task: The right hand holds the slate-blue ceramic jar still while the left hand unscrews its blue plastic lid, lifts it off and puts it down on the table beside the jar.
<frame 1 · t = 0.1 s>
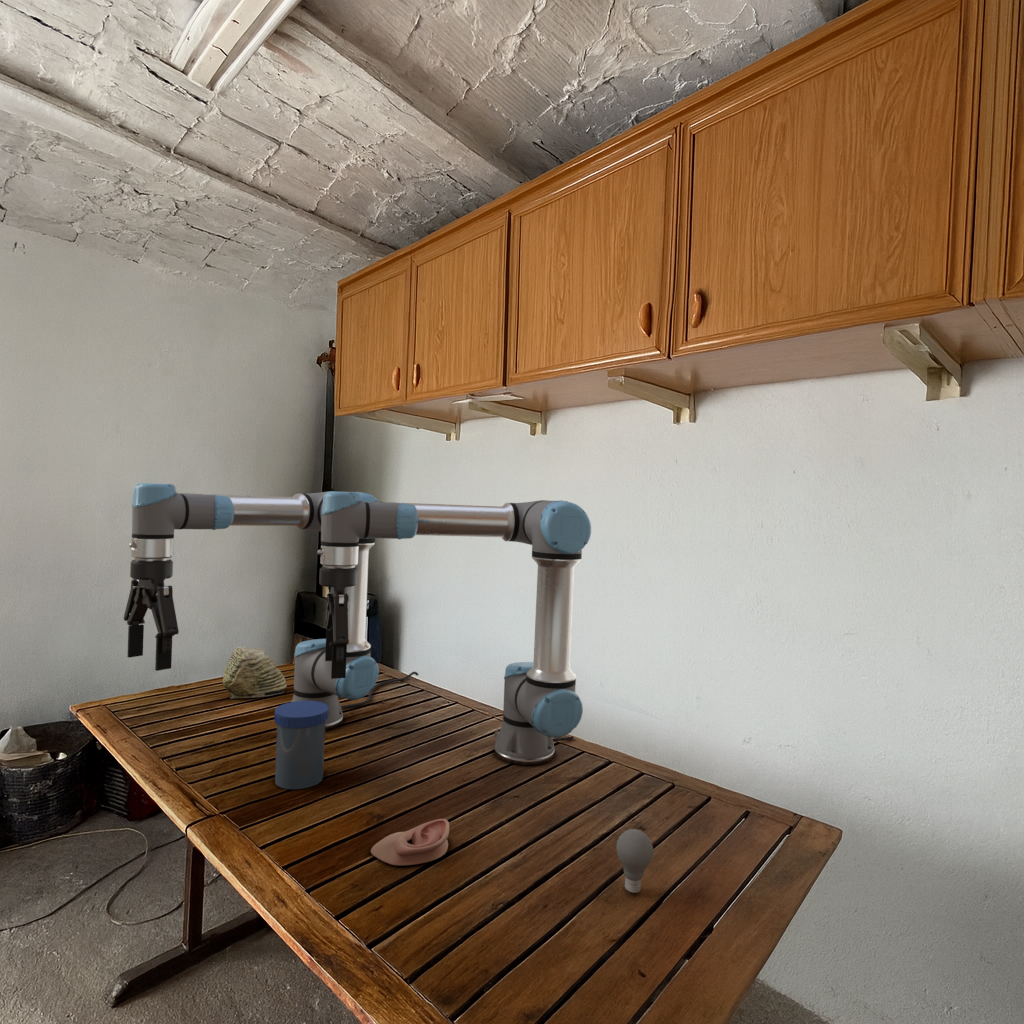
left hand: (148, 662, 129), 28 cm above the table, tool pointing down, fingers open, 13 cm apart
right hand: (334, 669, 131), 28 cm above the table, tool pointing down, fingers open, 13 cm apart
lid: (301, 710, 141), point 15 cm above the table, screwed on, not yet turned
light bulb: (632, 891, 106), on the table
fossil: (254, 694, 198), on the table
jar: (299, 778, 142), on the table
anatomical model: (410, 850, 115), on the table
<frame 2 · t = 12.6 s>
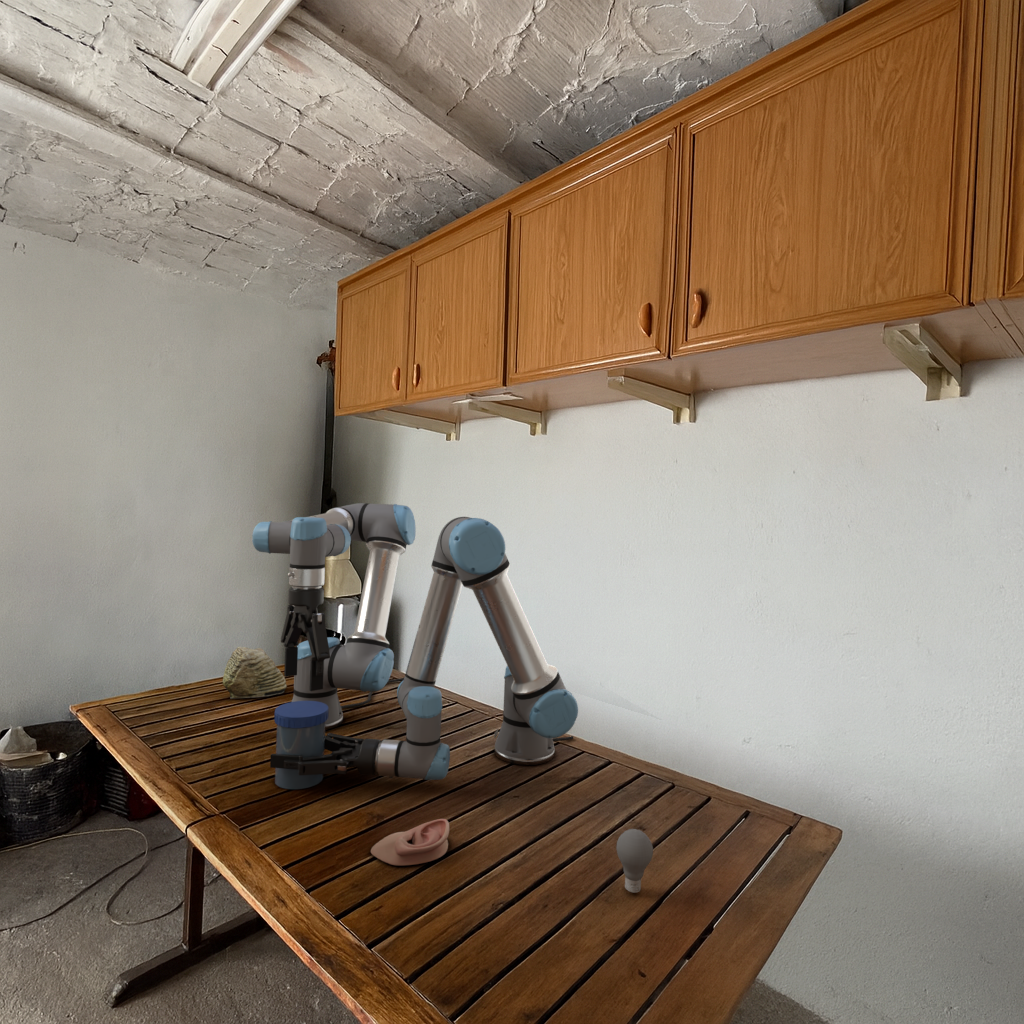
left hand: (302, 682, 141), 22 cm above the table, tool pointing down, fingers open, 12 cm apart
right hand: (282, 750, 142), 6 cm above the table, tool horizontal, fingers closed on jar, 10 cm apart
jar: (299, 778, 142), on the table, touching right hand
everything else where it was.
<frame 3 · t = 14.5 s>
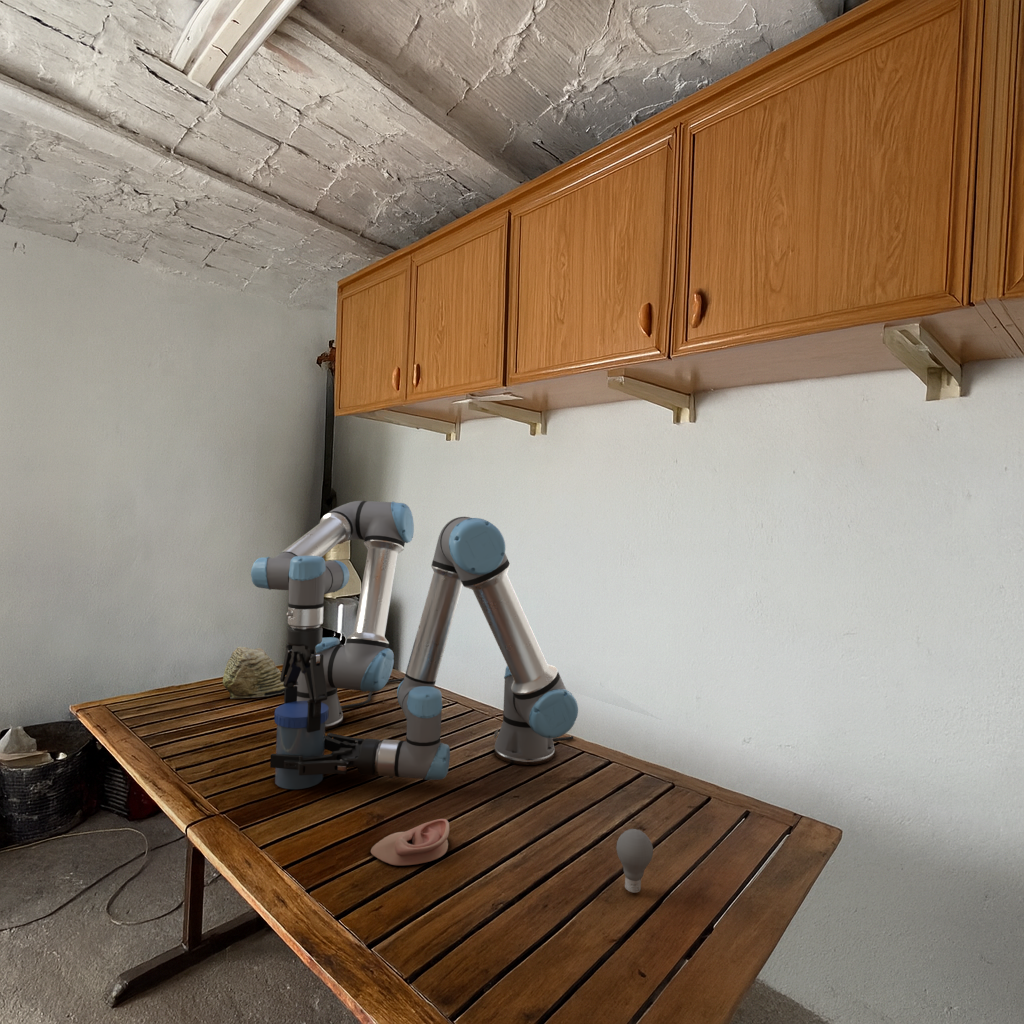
left hand: (301, 722, 141), 13 cm above the table, tool pointing down, fingers closed on lid, 11 cm apart
right hand: (282, 750, 142), 6 cm above the table, tool horizontal, fingers closed on jar, 10 cm apart
lid: (301, 710, 141), point 15 cm above the table, screwed on, not yet turned, touching left hand
jar: (299, 778, 142), on the table, touching right hand
everything else where it was.
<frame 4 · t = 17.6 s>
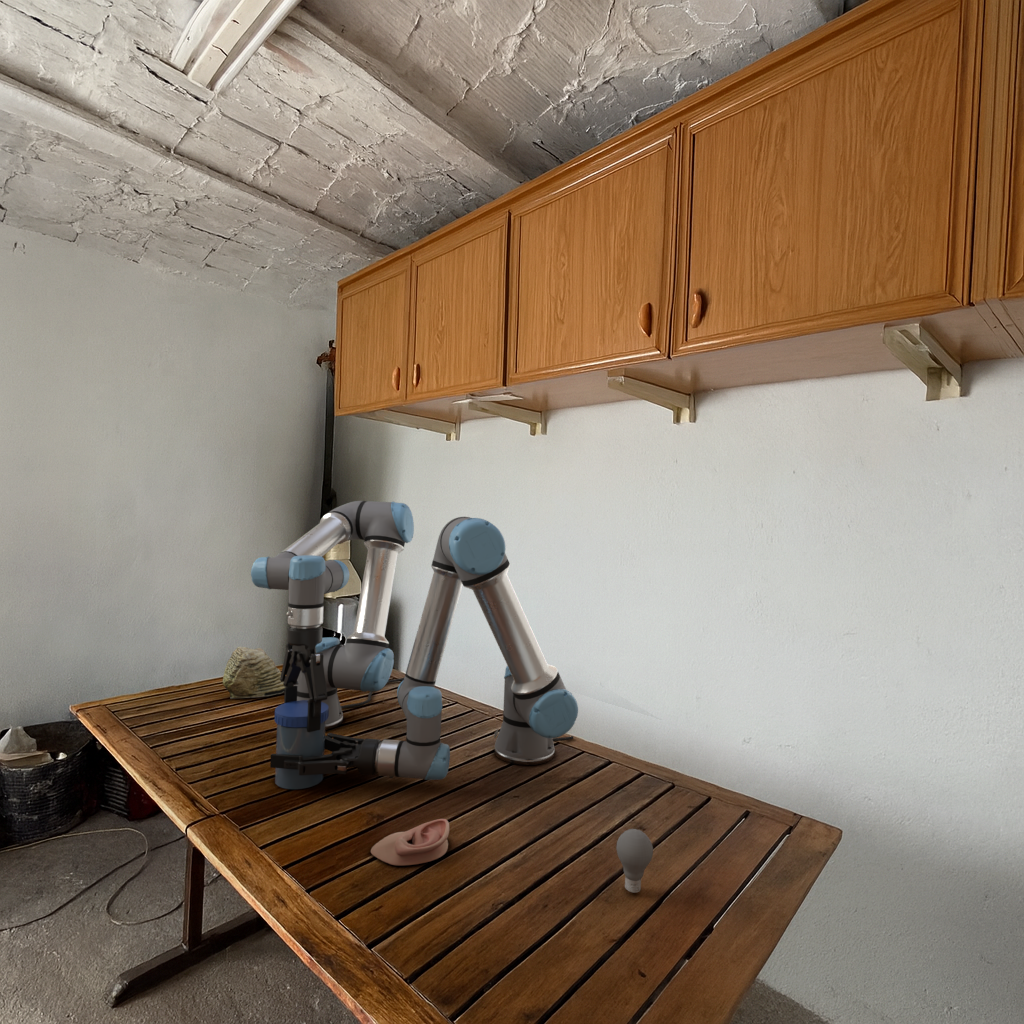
left hand: (301, 722, 141), 13 cm above the table, tool pointing down, fingers closed on lid, 11 cm apart
right hand: (282, 750, 142), 6 cm above the table, tool horizontal, fingers closed on jar, 10 cm apart
lid: (302, 709, 141), point 16 cm above the table, turned 91° so far, risen 0.1 cm, still on its thread, touching left hand
jar: (299, 778, 142), on the table, touching right hand
everything else where it was.
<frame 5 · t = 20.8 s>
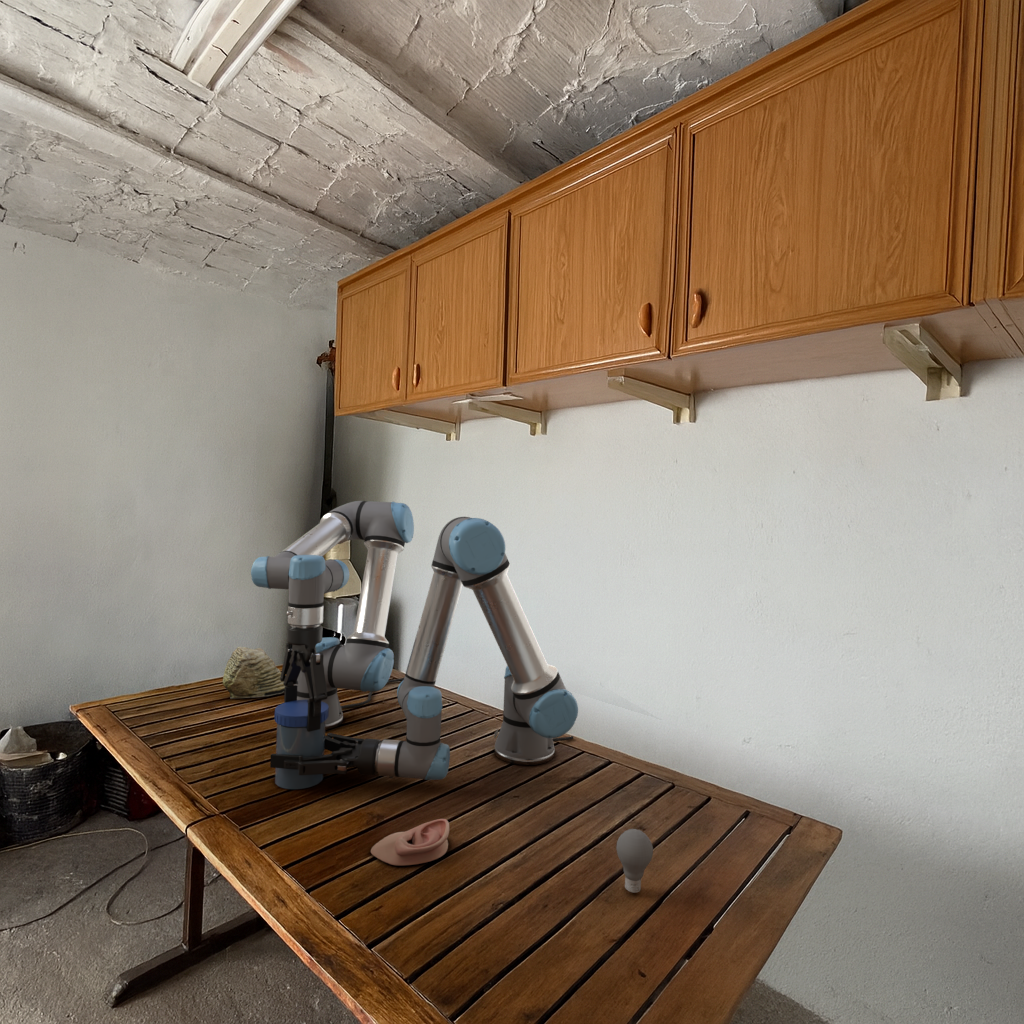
left hand: (301, 722, 141), 13 cm above the table, tool pointing down, fingers closed on lid, 11 cm apart
right hand: (282, 750, 142), 6 cm above the table, tool horizontal, fingers closed on jar, 10 cm apart
lid: (302, 709, 141), point 16 cm above the table, turned 182° so far, risen 0.2 cm, still on its thread, touching left hand
jar: (299, 778, 142), on the table, touching right hand
everything else where it was.
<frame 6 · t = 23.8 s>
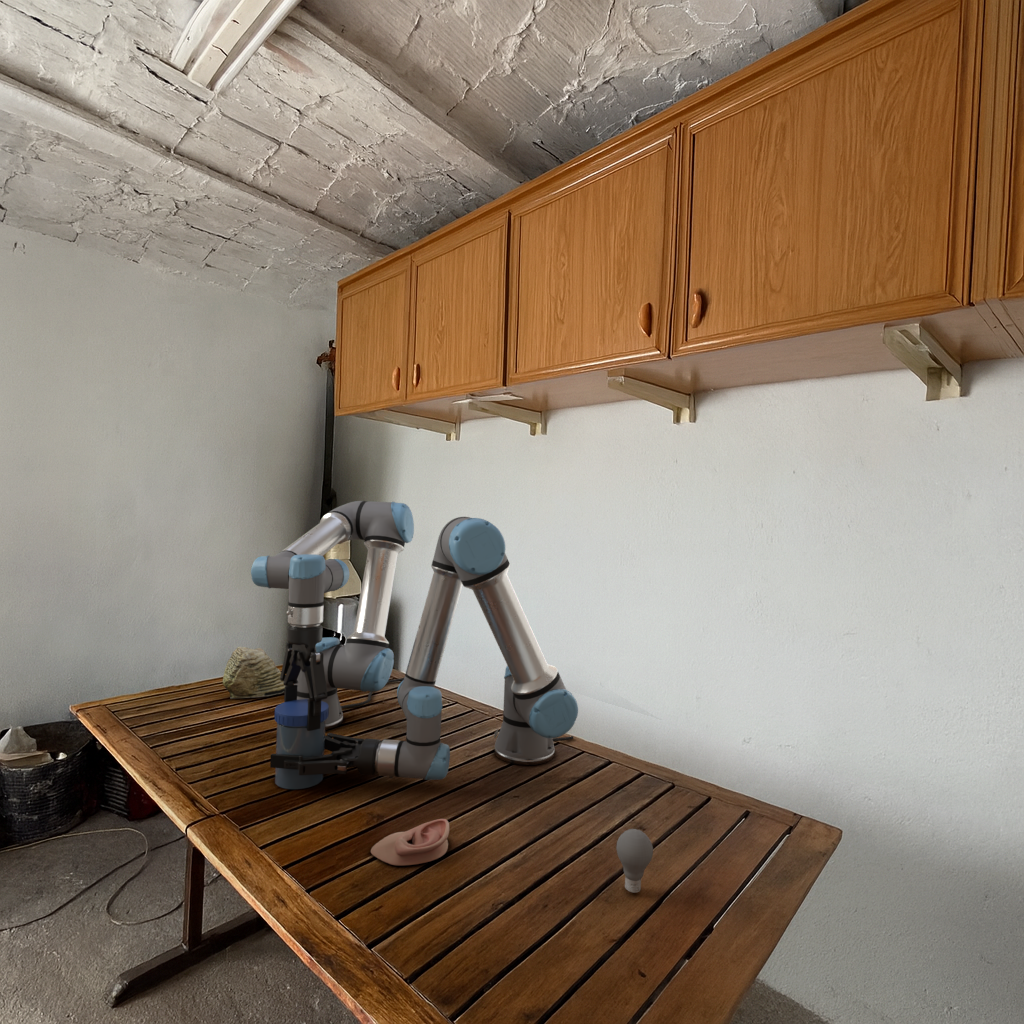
left hand: (301, 721, 141), 13 cm above the table, tool pointing down, fingers closed on lid, 11 cm apart
right hand: (282, 750, 142), 6 cm above the table, tool horizontal, fingers closed on jar, 10 cm apart
lid: (302, 708, 141), point 16 cm above the table, turned 273° so far, risen 0.4 cm, still on its thread, touching left hand
jar: (299, 778, 142), on the table, touching right hand
everything else where it was.
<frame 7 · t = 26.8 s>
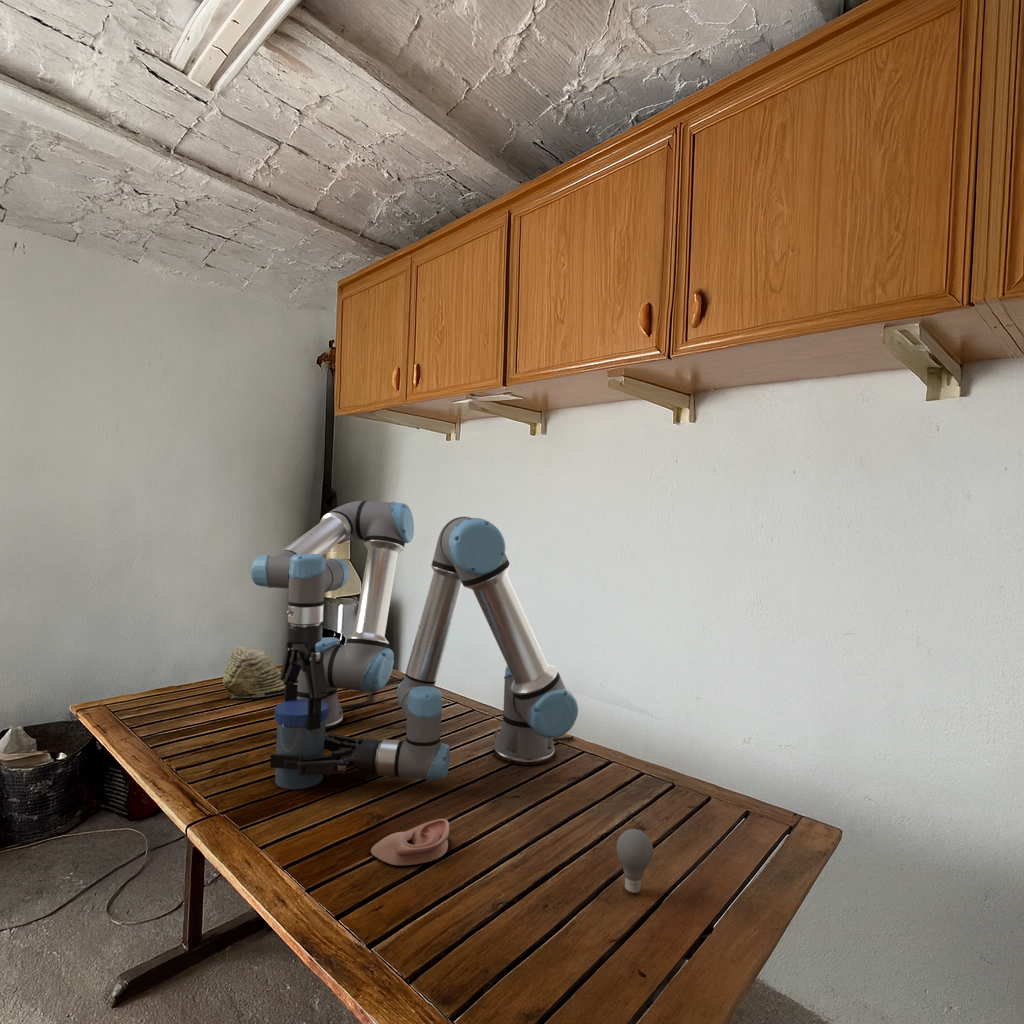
left hand: (301, 721, 141), 13 cm above the table, tool pointing down, fingers closed on lid, 11 cm apart
right hand: (282, 750, 142), 6 cm above the table, tool horizontal, fingers closed on jar, 10 cm apart
lid: (302, 708, 141), point 16 cm above the table, turned 364° so far, risen 0.5 cm, still on its thread, touching left hand
jar: (299, 778, 142), on the table, touching right hand
everything else where it was.
when the left hand's fingers open (0 cm above the table, at t = 33.8 s): lid drops 1 cm, point 2 cm above the table.
when the right hand's fingers open (6 cm above the table, at t = 34.8 s): jar stays where it is, on the table.
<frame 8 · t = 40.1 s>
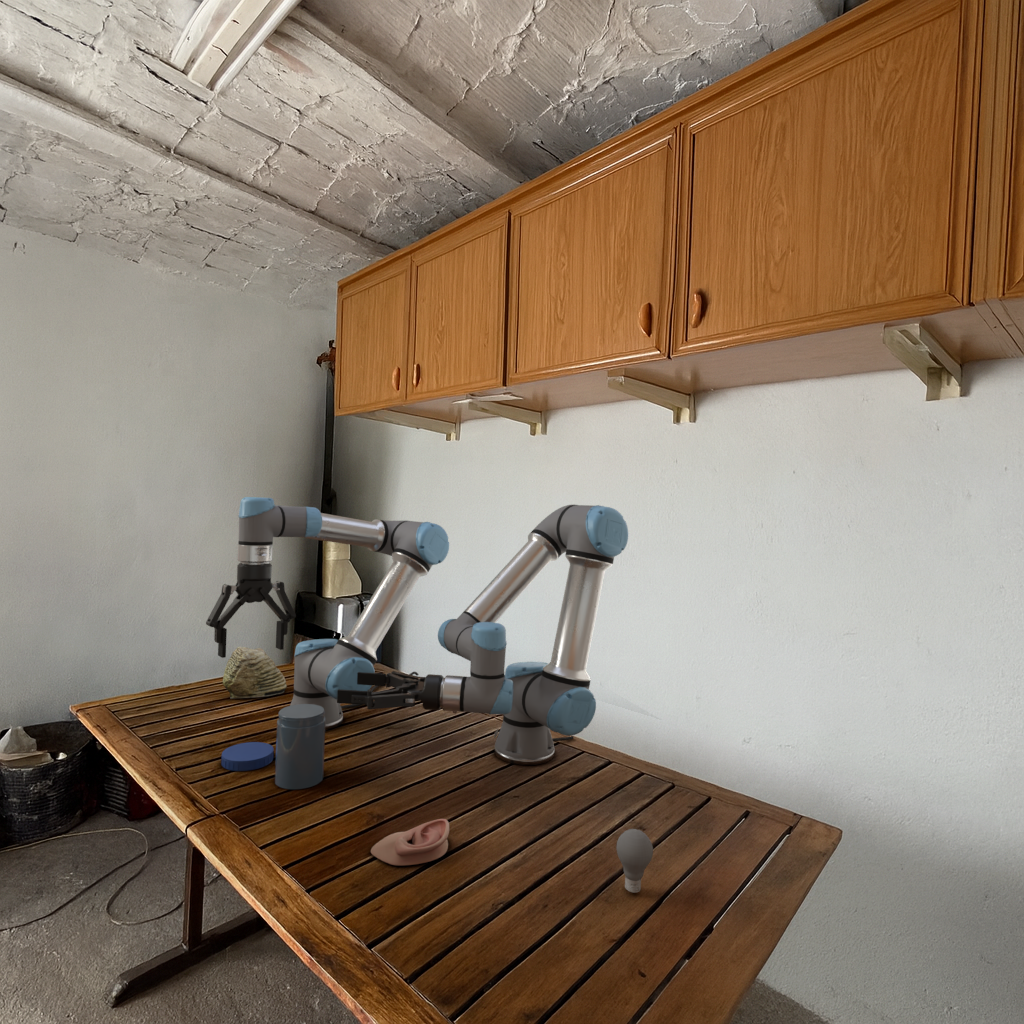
left hand: (251, 652, 149), 26 cm above the table, tool pointing down, fingers open, 13 cm apart
right hand: (348, 686, 141), 21 cm above the table, tool horizontal, fingers open, 13 cm apart
lid: (248, 752, 150), point 2 cm above the table, off its thread
jar: (299, 778, 142), on the table
everything else where it was.
at the end: lid came off its thread; lid point 2.0 cm above the table; the left hand is holding nothing; the right hand is holding nothing; jar tilted 0°; jar moved 0.0 cm from its start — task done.
